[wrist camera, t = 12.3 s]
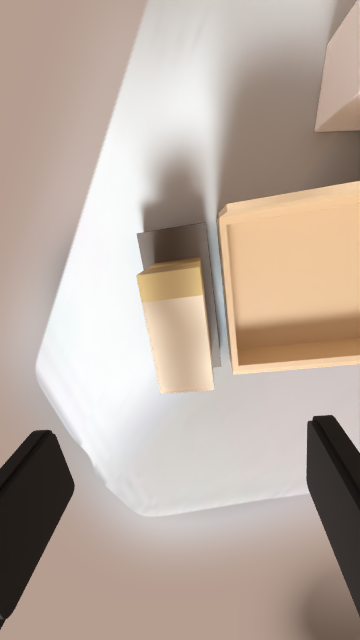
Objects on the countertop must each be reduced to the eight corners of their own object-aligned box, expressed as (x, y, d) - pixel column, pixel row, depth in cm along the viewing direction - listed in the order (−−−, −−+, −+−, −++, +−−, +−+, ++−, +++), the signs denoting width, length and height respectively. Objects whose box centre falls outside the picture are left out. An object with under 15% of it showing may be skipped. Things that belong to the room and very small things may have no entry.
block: (200, 256, 24) (199, 266, 17) (211, 351, 27) (214, 389, 20) (154, 263, 24) (136, 275, 18) (170, 354, 27) (160, 393, 21)
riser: (205, 223, 25) (205, 222, 23) (219, 354, 30) (221, 366, 27) (143, 233, 26) (136, 233, 23) (167, 358, 31) (163, 371, 28)
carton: (453, 176, 22) (709, 120, 11) (423, 338, 27) (577, 413, 16) (215, 216, 25) (226, 203, 14) (229, 356, 30) (245, 431, 19)
